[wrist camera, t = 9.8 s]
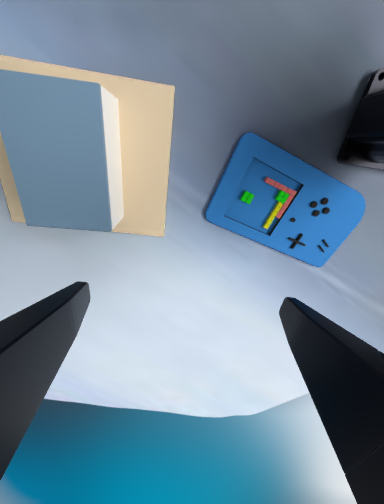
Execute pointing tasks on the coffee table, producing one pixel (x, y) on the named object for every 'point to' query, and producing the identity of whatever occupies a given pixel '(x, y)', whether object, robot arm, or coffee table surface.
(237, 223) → the handheld gaming device
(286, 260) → the coffee table surface
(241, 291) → the coffee table surface
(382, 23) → the coffee table surface
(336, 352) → the robot arm
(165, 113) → the cork mat
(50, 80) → the card box
